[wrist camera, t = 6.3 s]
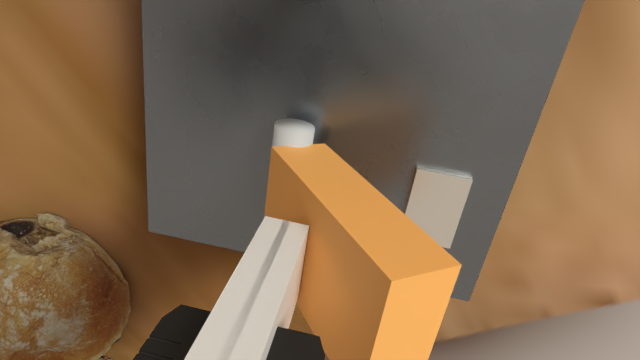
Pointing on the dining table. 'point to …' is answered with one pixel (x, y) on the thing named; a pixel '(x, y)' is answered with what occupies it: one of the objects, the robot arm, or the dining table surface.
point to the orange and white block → (357, 255)
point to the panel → (347, 106)
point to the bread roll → (58, 292)
